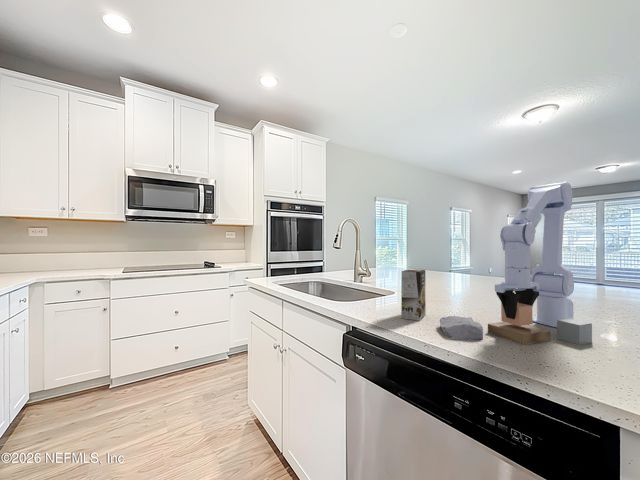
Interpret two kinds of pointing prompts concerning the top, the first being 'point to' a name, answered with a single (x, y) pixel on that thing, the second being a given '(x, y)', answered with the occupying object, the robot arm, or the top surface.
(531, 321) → the terracotta cube
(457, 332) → the stone block
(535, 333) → the walnut block
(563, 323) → the slate grey cube
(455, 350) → the top surface
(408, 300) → the coffee box
